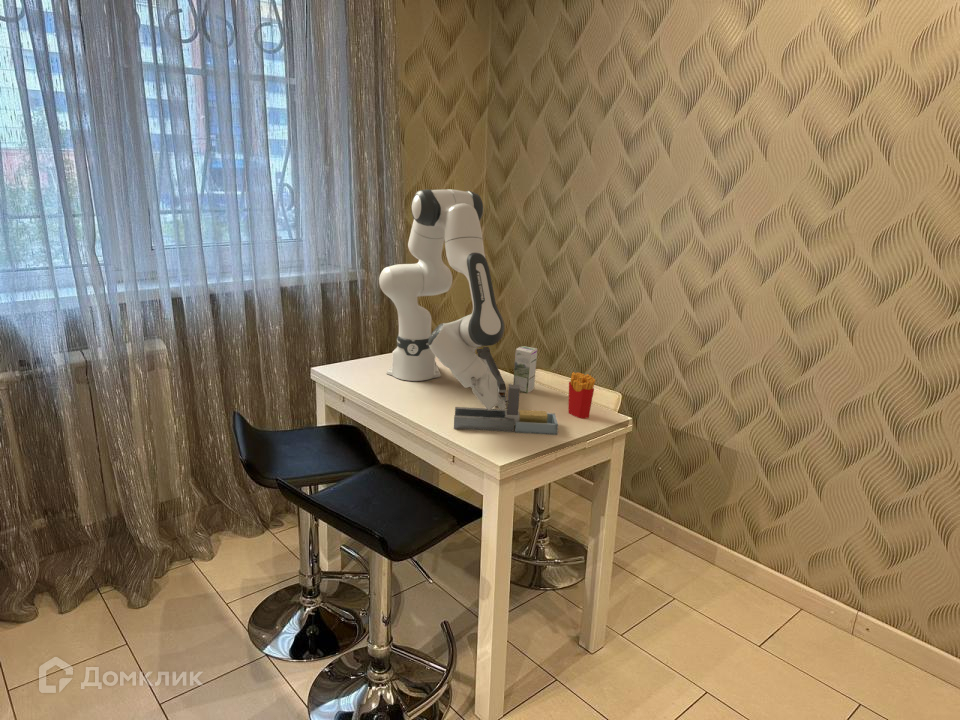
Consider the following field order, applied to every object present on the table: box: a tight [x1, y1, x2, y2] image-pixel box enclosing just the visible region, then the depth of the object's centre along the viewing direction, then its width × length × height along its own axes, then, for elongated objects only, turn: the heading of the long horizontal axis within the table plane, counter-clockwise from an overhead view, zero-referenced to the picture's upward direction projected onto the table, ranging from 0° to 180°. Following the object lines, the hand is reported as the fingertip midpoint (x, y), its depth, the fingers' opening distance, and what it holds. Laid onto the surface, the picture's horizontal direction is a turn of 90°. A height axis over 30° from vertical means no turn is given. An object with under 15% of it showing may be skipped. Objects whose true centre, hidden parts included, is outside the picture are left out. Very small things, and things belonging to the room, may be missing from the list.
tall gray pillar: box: [504, 383, 521, 425], centre depth 198 cm, size 4×4×11 cm
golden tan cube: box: [518, 409, 534, 423], centre depth 199 cm, size 4×4×4 cm
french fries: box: [567, 371, 597, 420], centre depth 210 cm, size 9×4×13 cm, turn 38°
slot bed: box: [453, 406, 515, 433], centre depth 199 cm, size 8×17×4 cm, turn 90°
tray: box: [514, 412, 559, 436], centre depth 200 cm, size 9×12×3 cm
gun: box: [476, 346, 508, 404], centre depth 226 cm, size 5×27×15 cm, turn 16°
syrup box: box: [512, 345, 538, 394], centre depth 230 cm, size 6×6×14 cm
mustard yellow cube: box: [533, 410, 548, 423], centre depth 199 cm, size 4×4×4 cm
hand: (504, 407), depth 198 cm, fingers closed
